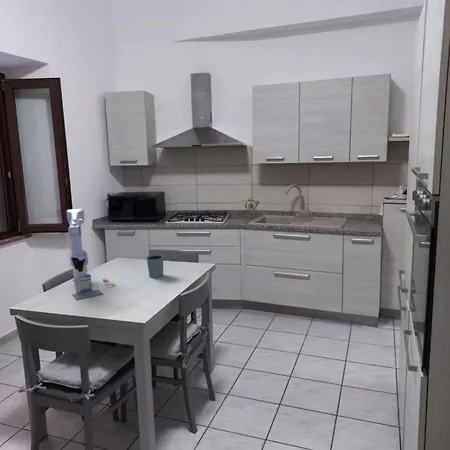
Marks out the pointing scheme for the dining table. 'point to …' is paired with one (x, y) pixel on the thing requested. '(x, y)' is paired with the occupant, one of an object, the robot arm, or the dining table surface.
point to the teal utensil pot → (155, 266)
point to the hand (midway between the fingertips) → (79, 270)
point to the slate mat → (87, 294)
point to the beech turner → (108, 283)
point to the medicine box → (83, 283)
